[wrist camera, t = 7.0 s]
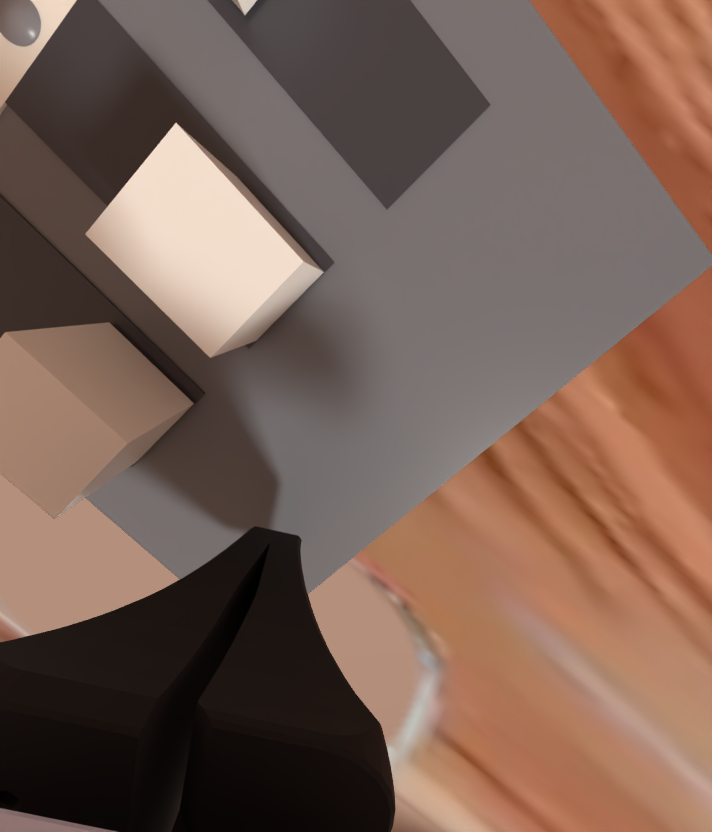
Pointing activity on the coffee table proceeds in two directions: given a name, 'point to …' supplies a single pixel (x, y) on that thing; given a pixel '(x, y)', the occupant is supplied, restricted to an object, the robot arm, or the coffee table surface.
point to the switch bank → (334, 243)
